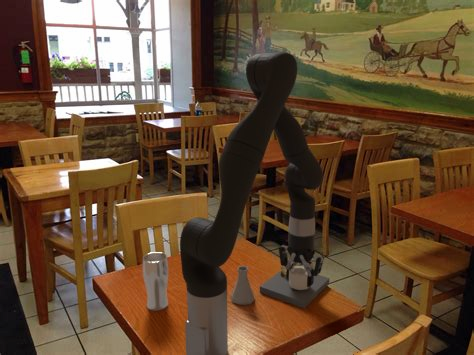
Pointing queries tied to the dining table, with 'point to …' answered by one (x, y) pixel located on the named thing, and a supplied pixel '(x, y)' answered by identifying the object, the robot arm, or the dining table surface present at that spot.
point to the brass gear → (284, 271)
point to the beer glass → (156, 280)
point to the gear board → (293, 290)
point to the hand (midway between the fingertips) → (299, 282)
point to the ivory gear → (298, 278)
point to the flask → (242, 288)
